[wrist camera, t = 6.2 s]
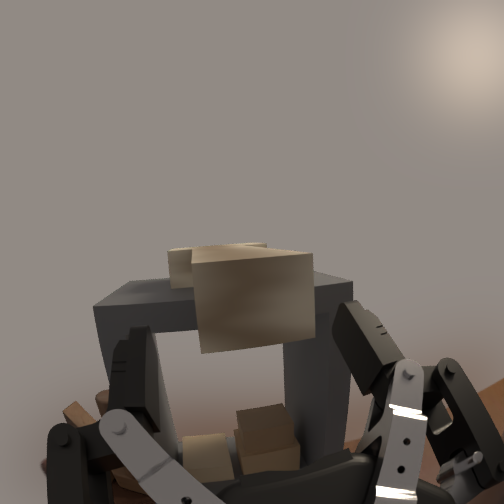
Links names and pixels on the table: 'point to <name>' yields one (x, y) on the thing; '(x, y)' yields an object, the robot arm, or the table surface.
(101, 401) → the wooden block
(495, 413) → the table surface
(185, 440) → the frame
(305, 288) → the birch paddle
